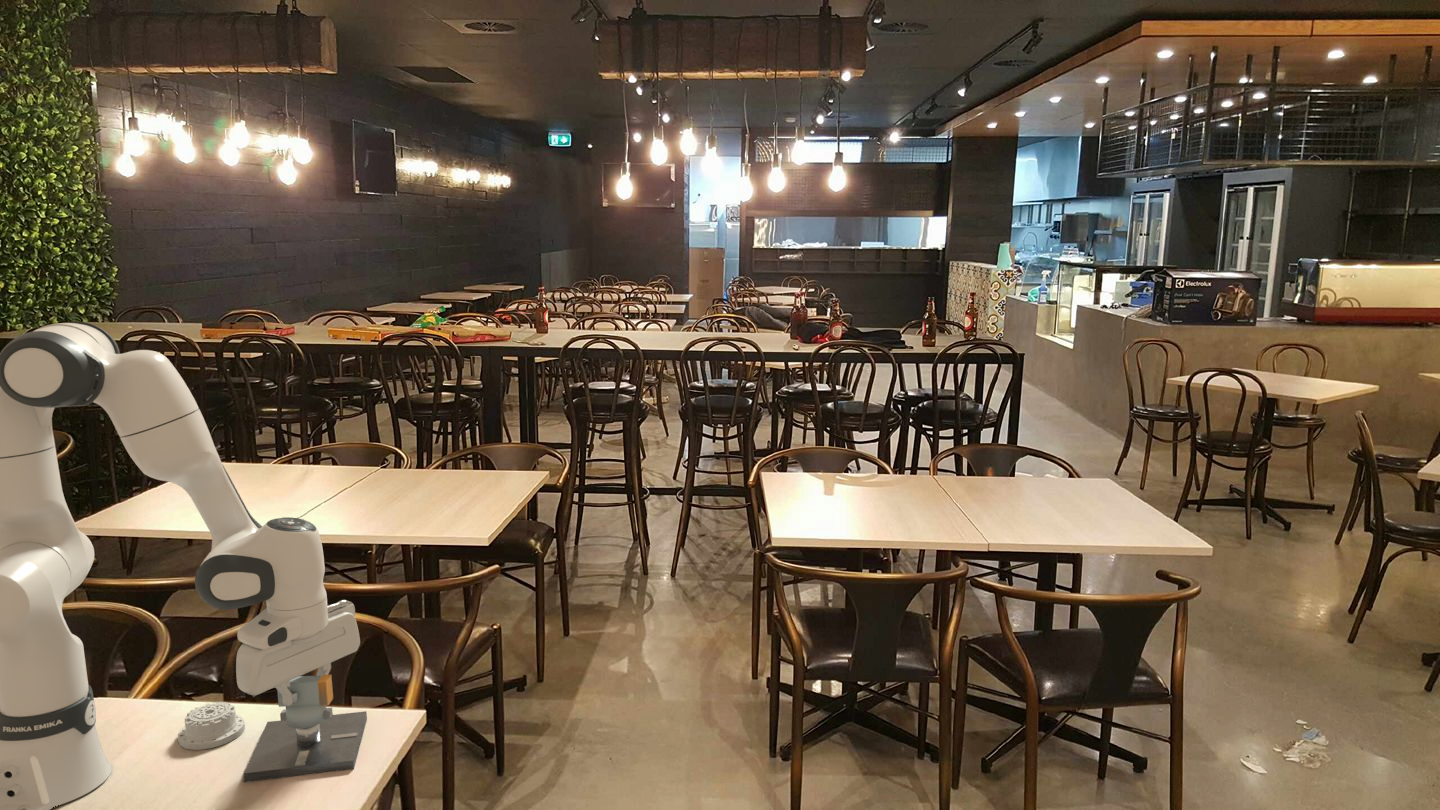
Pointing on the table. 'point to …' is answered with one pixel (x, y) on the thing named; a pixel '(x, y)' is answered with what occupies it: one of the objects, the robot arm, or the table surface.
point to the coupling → (308, 701)
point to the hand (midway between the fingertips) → (304, 696)
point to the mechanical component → (210, 726)
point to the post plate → (307, 748)
